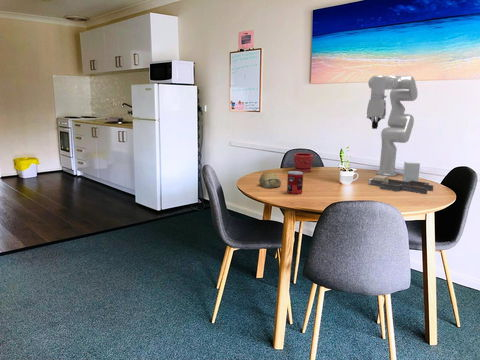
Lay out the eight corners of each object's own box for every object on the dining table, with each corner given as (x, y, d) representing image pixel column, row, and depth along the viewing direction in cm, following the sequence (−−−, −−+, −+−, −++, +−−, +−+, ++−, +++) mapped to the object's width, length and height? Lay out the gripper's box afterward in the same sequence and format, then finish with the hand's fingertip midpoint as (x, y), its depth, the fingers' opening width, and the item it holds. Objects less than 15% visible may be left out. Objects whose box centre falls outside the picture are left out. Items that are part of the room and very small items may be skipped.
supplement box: (418, 184, 223) (420, 163, 220) (404, 183, 224) (407, 162, 222) (414, 181, 230) (417, 161, 227) (402, 181, 231) (404, 161, 229)
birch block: (378, 183, 224) (378, 175, 223) (387, 185, 220) (388, 176, 219) (373, 184, 220) (374, 176, 219) (383, 186, 216) (383, 177, 215)
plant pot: (291, 169, 266) (291, 152, 264) (309, 169, 268) (310, 152, 265) (295, 172, 253) (296, 155, 251) (314, 172, 255) (315, 155, 252)
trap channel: (380, 180, 232) (380, 175, 231) (436, 189, 210) (436, 184, 209) (364, 185, 216) (364, 180, 215) (422, 195, 194) (423, 190, 194)
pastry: (264, 182, 221) (265, 169, 219) (284, 185, 215) (284, 171, 214) (254, 187, 209) (254, 173, 207) (275, 189, 203) (275, 175, 202)
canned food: (286, 190, 200) (287, 170, 198) (301, 191, 200) (302, 171, 198) (287, 194, 193) (288, 173, 190) (303, 194, 192) (304, 173, 190)
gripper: (392, 97, 217) (389, 129, 221) (368, 97, 227) (365, 127, 231) (387, 97, 212) (384, 129, 216) (362, 97, 222) (359, 128, 226)
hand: (374, 128), depth 223 cm, fingers closed
